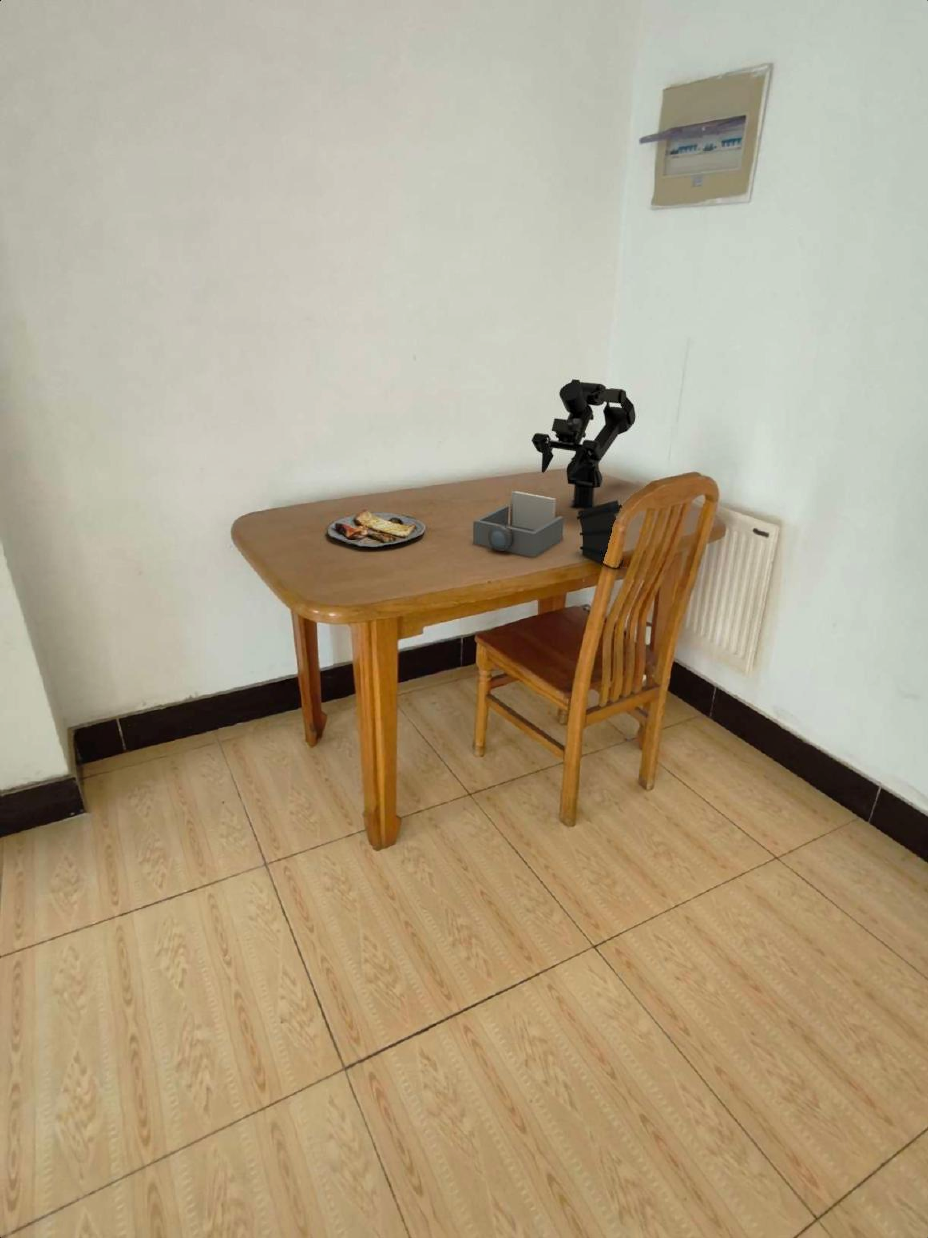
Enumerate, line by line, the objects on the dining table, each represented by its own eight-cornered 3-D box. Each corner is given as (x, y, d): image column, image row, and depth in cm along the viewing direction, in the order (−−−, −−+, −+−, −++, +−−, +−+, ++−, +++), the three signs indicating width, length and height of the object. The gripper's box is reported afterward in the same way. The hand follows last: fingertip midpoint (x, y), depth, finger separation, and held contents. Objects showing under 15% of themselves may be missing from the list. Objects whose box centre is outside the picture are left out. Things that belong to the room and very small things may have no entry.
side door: (509, 524, 190) (510, 491, 186) (513, 522, 192) (514, 489, 188) (551, 533, 184) (553, 499, 180) (555, 531, 186) (557, 497, 182)
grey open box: (505, 526, 193) (505, 502, 190) (563, 538, 185) (564, 514, 182) (468, 546, 180) (468, 520, 177) (528, 560, 171) (529, 534, 168)
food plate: (309, 535, 186) (308, 522, 185) (372, 514, 203) (371, 502, 201) (380, 560, 173) (380, 546, 171) (441, 534, 190) (441, 522, 188)
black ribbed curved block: (624, 567, 163) (608, 502, 162) (585, 573, 174) (570, 513, 173) (635, 563, 165) (620, 499, 164) (596, 570, 176) (581, 510, 175)
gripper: (536, 401, 191) (514, 452, 187) (601, 409, 181) (579, 462, 178) (549, 426, 200) (527, 475, 197) (611, 435, 191) (590, 485, 188)
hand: (555, 474), depth 190 cm, fingers open, 7 cm apart
